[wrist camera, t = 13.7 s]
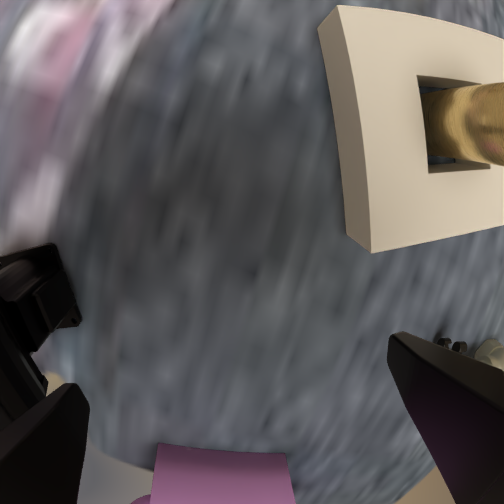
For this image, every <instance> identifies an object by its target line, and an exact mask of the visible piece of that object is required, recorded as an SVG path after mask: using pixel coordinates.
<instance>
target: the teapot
mask: <svg viewBox="0 0 504 504" xmlns="http://www.w3.org/2000/svg"><path fill="white" fill-rule="evenodd" d="M131 504H296V503H295V499H294V494H293V489H292V484H291V480H290V475H289V470H288V465H287V461H286V456H285V453H252V452H233V451H220V450H209V449H200V448H192V447H184V446H177V445H170V444H164V443H158V448H157V455H156V461H155V468H154V475H153V483H152V490H151V494H150V495H145V496H143V497H140V498H138V499H136V500H135V501H133V502H132V503H131Z"/></svg>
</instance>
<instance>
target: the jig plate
mask: <svg viewBox="0 0 504 504" xmlns="http://www.w3.org/2000/svg"><path fill="white" fill-rule="evenodd" d="M317 31H318V35H319V40H320V45H321V49H322V54H323V59H324V64H325V69H326V75H327V80H328V86H329V91H330V97H331V103H332V110H333V116H334V123H335V130H336V137H337V144H338V152H339V160H340V169H341V178H342V188H343V199H344V210H345V223H346V234H347V235H348V236H349V237H351V238H352V239H353V240H355V241H356V242H357V243H358V244H360V245H361V246H362V247H364V248H365V249H366V250H367V251H369V252H370V253H376V252H381V251H386V250H391V249H396V248H401V247H406V246H410V245H415V244H420V243H425V242H429V241H434V240H439V239H443V238H448V237H452V236H457V235H461V234H466V233H470V232H475V231H479V230H484V229H488V228H493V227H497V226H501V225H504V166H499V165H493V164H487V163H481V162H475V161H469V160H462V159H455V163H448V164H433V165H428V162H427V149H426V139H425V129H424V121H423V113H422V106H421V99H420V93H419V87H418V86H424V87H436V88H446V89H452V88H459V87H466V86H474V85H482V84H490V83H500V82H504V39H501V38H498V37H496V36H493V35H490V34H487V33H484V32H481V31H478V30H475V29H472V28H468V27H465V26H461V25H458V24H454V23H450V22H446V21H442V20H438V19H434V18H429V17H425V16H420V15H415V14H409V13H404V12H398V11H391V10H384V9H376V8H367V7H356V6H343V5H337V6H336V7H335V8H334V9H333V10H332V11H331V13H330V14H329V15H328V16H327V17H326V18H325V19H324V21H323V22H322V23H321V24H320V25H319V26H318V28H317Z"/></svg>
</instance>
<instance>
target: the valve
mask: <svg viewBox="0 0 504 504" xmlns="http://www.w3.org/2000/svg"><path fill="white" fill-rule="evenodd" d="M450 343H452V342H451V339H450V338H440V339H439V340H438V342H437V345H440V346H442V347H445V348H447V349H449V348H448V344H450ZM450 350H452V351H455V352H458V353H460V354H462V353H463V352H466V351H467V344H466V342H464V341H461V342H455V343H454V344H453V346H452V349H450ZM474 359H476V360H478V361H481V362H484V363H486V364H489V365H492V366H494V367H497V368H499V369H502V370H503V371H504V347H503V345H501V344H500V343H499V342H498V341H497V340H496V339H487V340H486V341H485V342H484V343H483V344H482V345H481V346H480V347H479V349H478V350H477V351H476V352H475V357H474Z"/></svg>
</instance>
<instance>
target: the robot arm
mask: <svg viewBox="0 0 504 504" xmlns="http://www.w3.org/2000/svg"><path fill="white" fill-rule="evenodd" d="M49 248H50V249H51V251H52V253H50V252H49ZM0 262H1V263H0V504H77V499H78V492H79V485H80V479H81V473H82V468H83V462H84V457H85V451H86V442H87V431H88V422H89V414H90V406H89V403H88V401H87V399H86V398H85V396H84V394H83V392H82V391H81V389H80V387H79V386H78V385H77V384H75V383H65V384H63V385H61V386H60V387H59V388H57V389H56V390H55V391H53V392H52V393H51V394H49V395H48V396H47V397H46V393H47V387H48V381H47V379H46V378H45V376H44V375H42V374H41V372H40V371H39V369H38V367H37V366H36V364H35V362H34V361H33V359H32V357H31V355H32V354H33V352H36V351H38V349H39V348H40V347H41V345H42V344H43V343H44V341H45V340H46V339H47V337H48V336H49V335H50V334H51V333H52V332H54V330H55V329H59V328H68V327H77V326H79V325H80V323H81V321H82V319H81V316H80V313H79V311H78V308H77V306H76V301H75V298H74V296H73V293H72V290H71V288H70V285H69V282H68V279H67V276H66V273H65V271H64V270H63V267H62V264H61V261H60V258H59V254H58V251H57V248H56V246H55V245H54V244H53V243H48V244H44V245H40V246H36V247H32V248H28V249H25V250H21V251H17V252H14V253H10V254H7V255H3V256H0ZM1 264H2V265H1ZM73 318H75V319H76V320H77V321H75V320H74V319H73ZM387 363H388V366H389V369H390V371H391V373H392V376H393V378H394V380H395V383H396V385H397V388H398V390H399V392H400V395H401V397H402V400H403V402H404V404H405V407H406V409H407V411H408V413H409V414H410V416H411V418H412V420H413V422H414V423H415V425H416V427H417V429H418V431H419V433H420V434H421V436H422V438H423V440H424V442H425V444H426V446H427V448H428V449H429V451H430V453H431V455H432V457H433V459H434V461H435V463H436V465H437V467H438V469H439V470H440V472H441V475H442V477H443V479H444V481H445V483H446V485H447V487H448V489H449V491H450V493H451V495H452V497H453V499H454V501H455V503H456V504H504V371H503V370H502V369H499V368H497V367H494V366H492V365H489V364H486V363H484V362H481V361H478V360H476V359H473V358H471V357H468V356H465V355H463V354H460V353H458V352H455V351H452V350H450V349H447V348H445V347H442V346H440V345H437V344H435V343H432V342H429V341H427V340H424V339H422V338H419V337H417V336H414V335H412V334H409V333H407V332H404V331H402V332H398V333H395V334H392V335H391V336H390V337H389V342H388V352H387Z"/></svg>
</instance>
